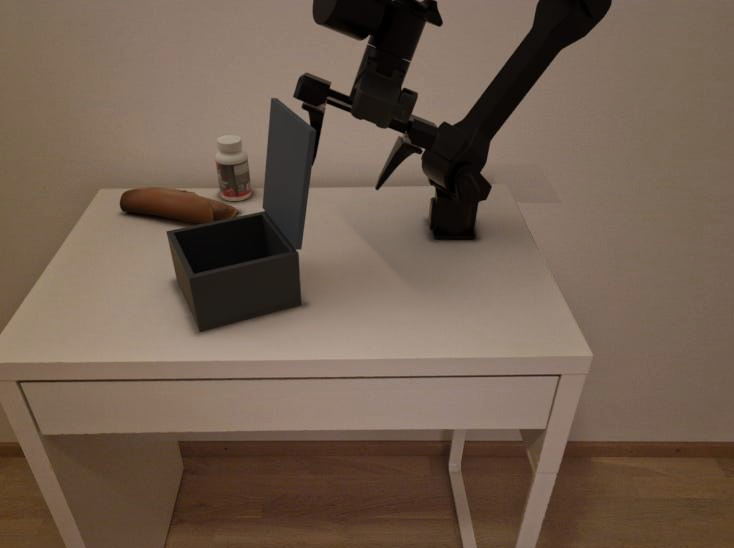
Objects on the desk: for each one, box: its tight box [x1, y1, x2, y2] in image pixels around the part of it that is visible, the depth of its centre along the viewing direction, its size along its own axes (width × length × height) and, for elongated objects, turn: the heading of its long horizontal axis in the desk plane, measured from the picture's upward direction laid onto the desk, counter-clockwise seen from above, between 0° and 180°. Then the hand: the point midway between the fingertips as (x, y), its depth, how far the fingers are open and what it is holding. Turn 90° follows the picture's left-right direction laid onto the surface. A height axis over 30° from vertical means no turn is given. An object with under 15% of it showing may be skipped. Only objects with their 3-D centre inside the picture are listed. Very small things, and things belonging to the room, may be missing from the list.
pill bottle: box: [214, 134, 252, 202], centre depth 100 cm, size 5×5×10 cm
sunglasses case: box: [119, 186, 239, 225], centre depth 97 cm, size 18×7×7 cm, turn 69°
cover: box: [262, 97, 316, 251], centre depth 72 cm, size 14×13×1 cm
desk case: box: [165, 210, 303, 333], centre depth 77 cm, size 14×13×8 cm
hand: (344, 177), depth 79 cm, fingers open, 9 cm apart
